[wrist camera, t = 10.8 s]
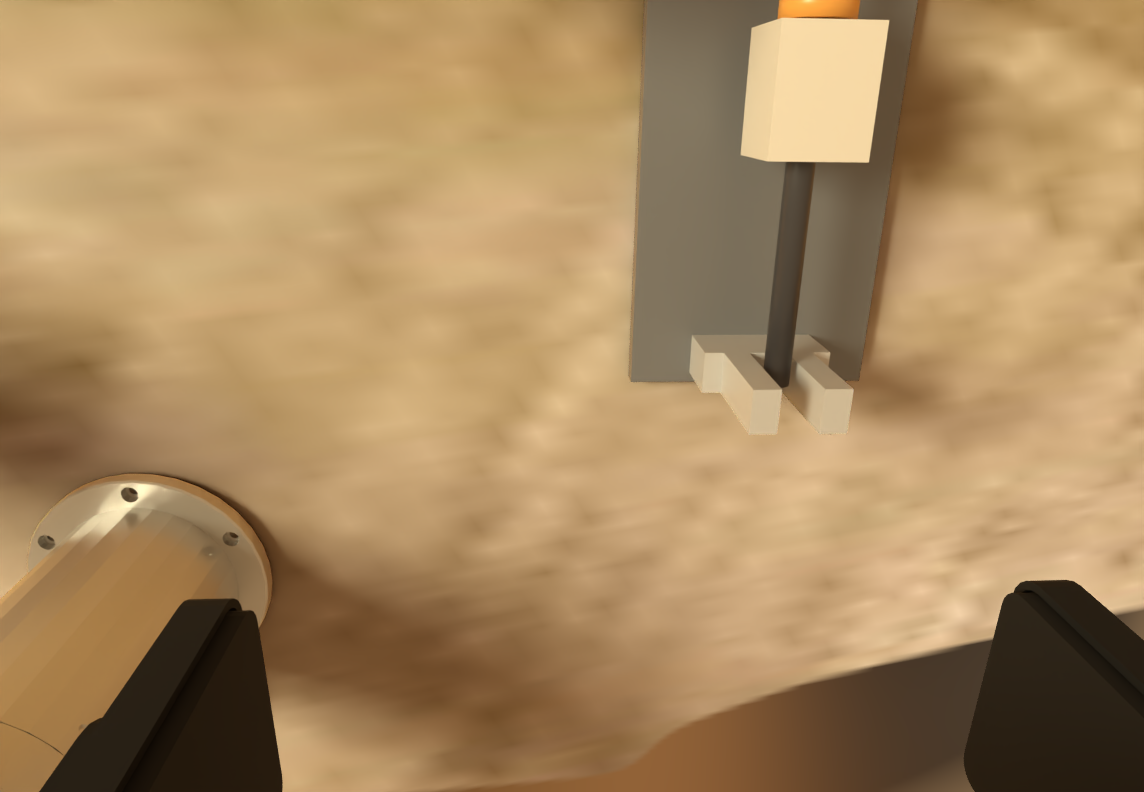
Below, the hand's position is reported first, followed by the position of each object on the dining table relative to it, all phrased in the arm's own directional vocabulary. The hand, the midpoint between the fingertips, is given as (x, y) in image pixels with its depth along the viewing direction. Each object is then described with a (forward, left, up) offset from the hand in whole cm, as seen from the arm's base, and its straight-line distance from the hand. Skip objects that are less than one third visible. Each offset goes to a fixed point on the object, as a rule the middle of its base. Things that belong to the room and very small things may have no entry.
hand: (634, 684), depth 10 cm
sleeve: (+7, -10, -27) cm, 30 cm away
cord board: (+6, -10, -30) cm, 32 cm away
